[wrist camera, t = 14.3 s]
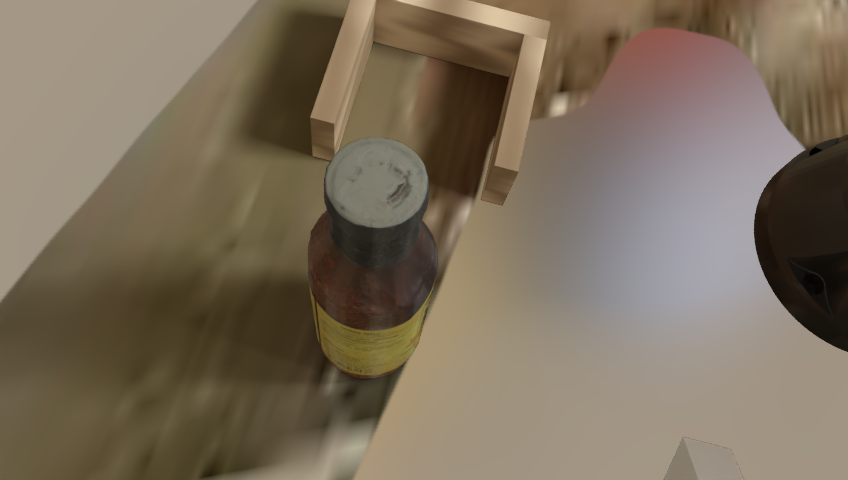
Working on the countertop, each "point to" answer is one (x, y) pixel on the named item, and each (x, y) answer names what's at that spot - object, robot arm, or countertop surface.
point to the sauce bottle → (372, 258)
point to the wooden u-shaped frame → (447, 40)
